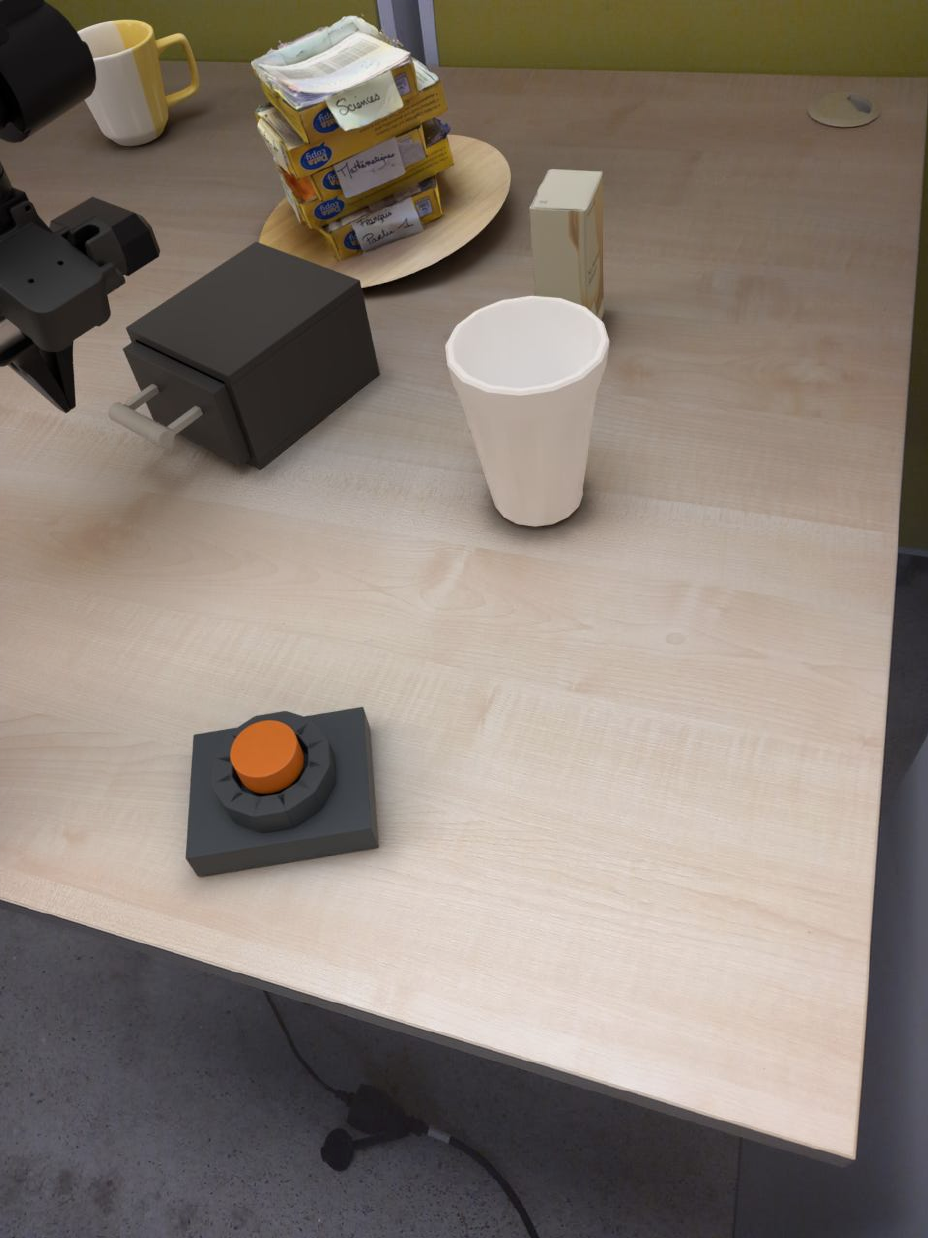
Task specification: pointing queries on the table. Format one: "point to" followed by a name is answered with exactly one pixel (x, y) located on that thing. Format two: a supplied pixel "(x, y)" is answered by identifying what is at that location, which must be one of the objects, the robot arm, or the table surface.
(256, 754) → the button
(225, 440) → the drawer
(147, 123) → the mug
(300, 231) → the stack of yellow boxes
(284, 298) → the black box
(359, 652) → the table surface
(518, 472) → the cup
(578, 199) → the cosmetic box
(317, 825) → the control block
